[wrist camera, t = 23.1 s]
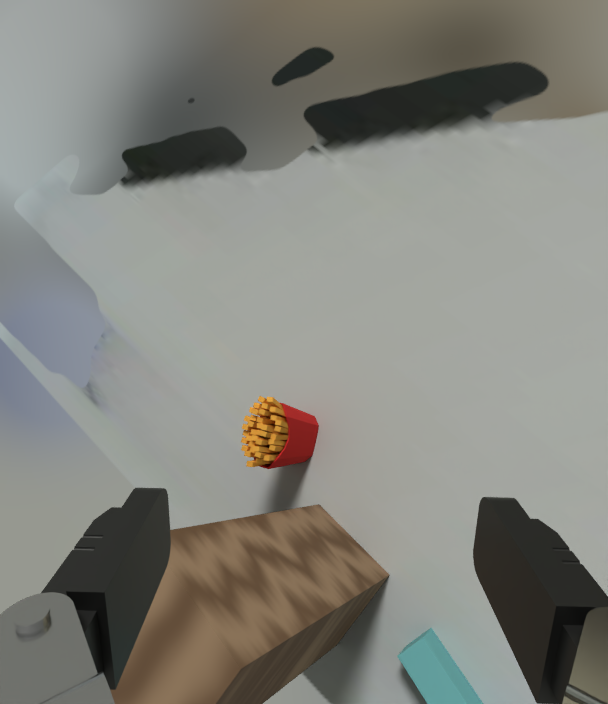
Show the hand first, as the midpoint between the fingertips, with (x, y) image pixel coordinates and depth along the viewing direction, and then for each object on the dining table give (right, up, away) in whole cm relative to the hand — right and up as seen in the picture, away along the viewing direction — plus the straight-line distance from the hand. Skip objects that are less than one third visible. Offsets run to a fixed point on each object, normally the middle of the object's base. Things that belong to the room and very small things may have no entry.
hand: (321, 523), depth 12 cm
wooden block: (+3, -26, +52) cm, 59 cm away
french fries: (0, -8, +59) cm, 59 cm away
